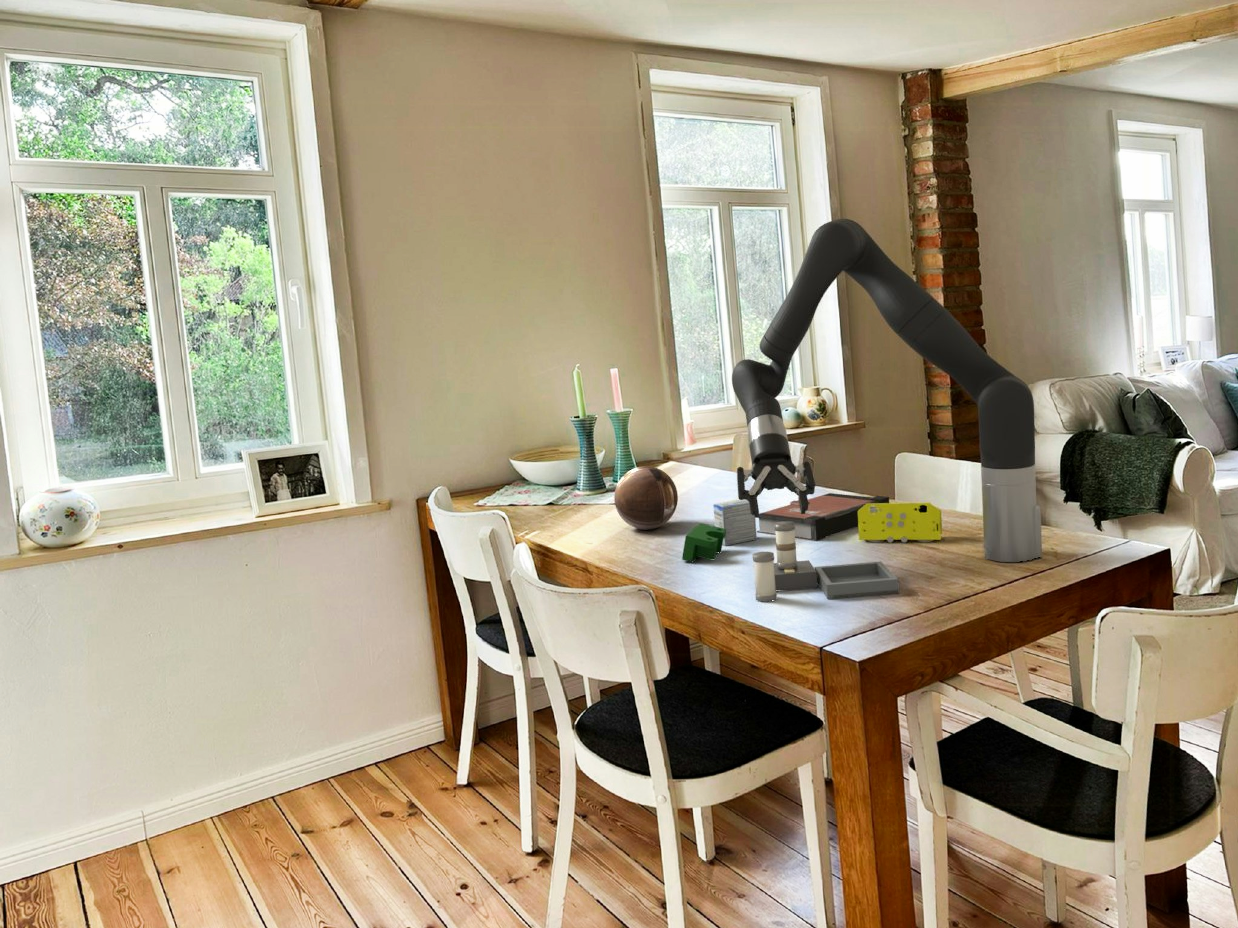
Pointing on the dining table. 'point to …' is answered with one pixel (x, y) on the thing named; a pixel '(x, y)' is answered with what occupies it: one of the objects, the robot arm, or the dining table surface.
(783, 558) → the ball
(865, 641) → the dining table surface
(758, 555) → the fuse
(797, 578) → the block
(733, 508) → the medicine box
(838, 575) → the parts tray
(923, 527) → the yellow toy chassis
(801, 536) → the book
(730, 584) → the dining table surface
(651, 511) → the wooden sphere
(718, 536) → the clamp
